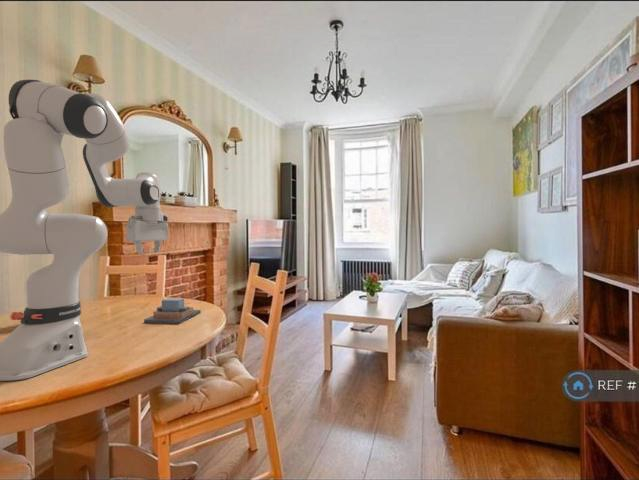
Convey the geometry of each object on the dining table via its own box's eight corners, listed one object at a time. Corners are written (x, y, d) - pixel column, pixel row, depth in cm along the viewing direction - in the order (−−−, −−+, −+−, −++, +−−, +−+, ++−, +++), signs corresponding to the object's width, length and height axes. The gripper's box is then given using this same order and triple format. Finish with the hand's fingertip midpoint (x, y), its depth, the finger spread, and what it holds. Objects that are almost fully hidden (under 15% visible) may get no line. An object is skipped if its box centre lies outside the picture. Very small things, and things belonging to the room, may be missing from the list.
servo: (185, 316, 129) (184, 300, 128) (156, 315, 130) (155, 300, 130) (190, 313, 133) (190, 298, 132) (162, 312, 134) (161, 297, 134)
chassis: (179, 323, 123) (179, 315, 123) (144, 322, 125) (143, 314, 124) (200, 313, 138) (200, 305, 138) (169, 312, 140) (168, 304, 140)
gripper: (137, 214, 118) (137, 254, 118) (171, 218, 138) (171, 251, 138) (120, 215, 119) (121, 254, 119) (157, 218, 139) (157, 251, 139)
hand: (148, 252), depth 128 cm, fingers open, 8 cm apart
